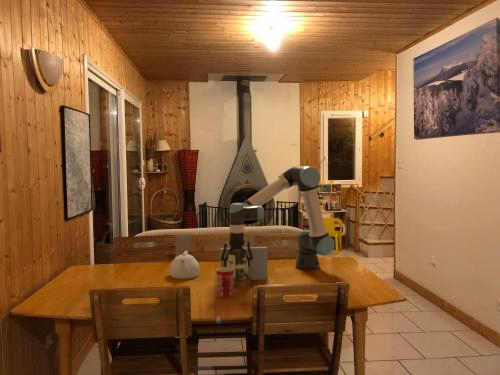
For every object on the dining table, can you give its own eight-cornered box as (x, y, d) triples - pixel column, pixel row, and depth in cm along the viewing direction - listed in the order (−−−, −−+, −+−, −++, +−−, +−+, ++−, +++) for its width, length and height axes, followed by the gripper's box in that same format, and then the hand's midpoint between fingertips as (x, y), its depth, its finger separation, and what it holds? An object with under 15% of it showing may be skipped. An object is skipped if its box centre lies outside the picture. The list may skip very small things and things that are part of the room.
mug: (214, 293, 217) (214, 267, 216) (232, 292, 219) (232, 266, 218) (218, 302, 205) (217, 274, 204) (236, 300, 206) (236, 273, 206)
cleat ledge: (248, 280, 242) (248, 271, 241) (251, 287, 228) (251, 278, 227) (223, 281, 240) (222, 272, 239) (225, 288, 226) (225, 279, 225)
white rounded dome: (207, 275, 252) (207, 252, 251) (182, 282, 238) (181, 257, 237) (187, 269, 264) (186, 247, 263) (162, 275, 251) (161, 252, 250)
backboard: (266, 278, 245) (266, 246, 244) (267, 279, 243) (267, 247, 242) (220, 280, 241) (220, 248, 240) (221, 281, 239) (221, 249, 238)
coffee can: (248, 274, 238) (248, 249, 237) (244, 280, 228) (244, 253, 227) (230, 273, 240) (229, 248, 239) (225, 279, 230) (225, 252, 229)
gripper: (256, 230, 237) (256, 270, 239) (215, 231, 234) (215, 271, 236) (258, 232, 230) (258, 273, 232) (216, 233, 227) (216, 275, 228)
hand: (236, 272), depth 234 cm, fingers closed on coffee can, 10 cm apart
